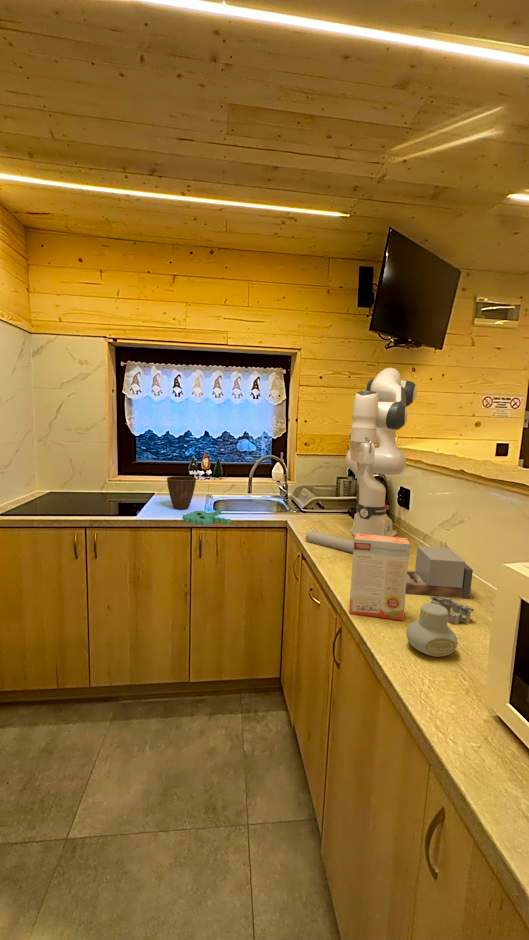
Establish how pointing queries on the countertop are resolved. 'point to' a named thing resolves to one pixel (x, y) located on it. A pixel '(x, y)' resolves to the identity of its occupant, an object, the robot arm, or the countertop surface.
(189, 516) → the alien figure
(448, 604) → the egg carton
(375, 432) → the robot arm
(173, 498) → the plant pot
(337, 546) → the tube
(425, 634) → the air freshener
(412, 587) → the roller bed
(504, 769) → the countertop surface
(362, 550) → the cracker box
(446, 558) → the grey cardboard box
